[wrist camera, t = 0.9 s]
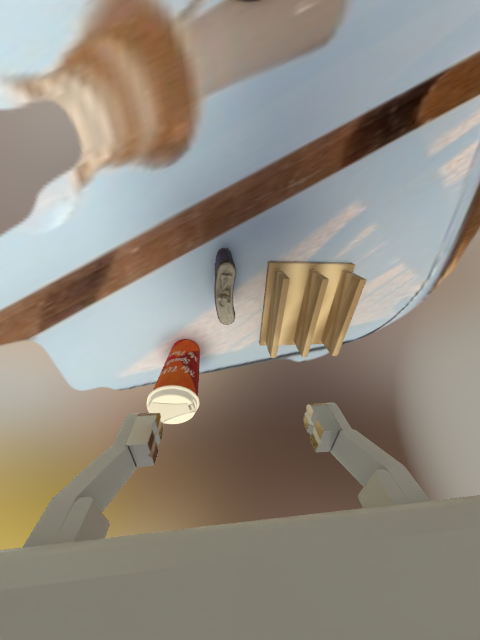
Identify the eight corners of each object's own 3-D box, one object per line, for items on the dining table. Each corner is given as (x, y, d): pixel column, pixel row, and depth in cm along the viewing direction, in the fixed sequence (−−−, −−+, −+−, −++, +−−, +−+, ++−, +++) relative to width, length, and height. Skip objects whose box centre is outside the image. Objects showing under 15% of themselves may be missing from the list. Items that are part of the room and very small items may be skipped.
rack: (259, 342, 41) (265, 362, 36) (268, 261, 32) (277, 271, 27) (326, 341, 42) (340, 359, 37) (351, 263, 34) (375, 273, 29)
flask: (232, 300, 35) (235, 332, 26) (215, 300, 35) (214, 333, 26) (232, 247, 31) (237, 264, 21) (214, 247, 30) (211, 263, 21)
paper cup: (200, 332, 38) (192, 389, 26) (207, 361, 42) (203, 422, 30) (161, 337, 38) (134, 397, 26) (172, 365, 42) (153, 429, 30)
